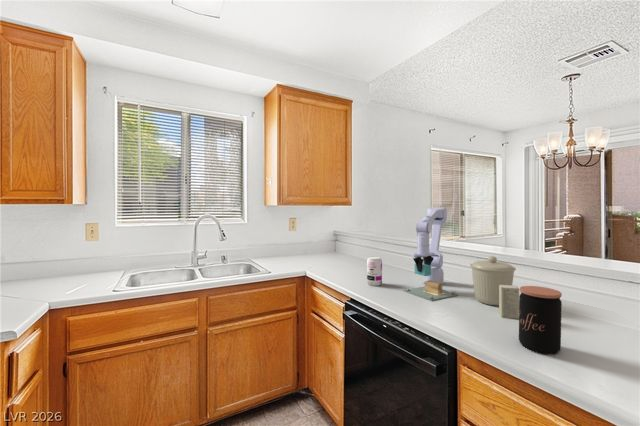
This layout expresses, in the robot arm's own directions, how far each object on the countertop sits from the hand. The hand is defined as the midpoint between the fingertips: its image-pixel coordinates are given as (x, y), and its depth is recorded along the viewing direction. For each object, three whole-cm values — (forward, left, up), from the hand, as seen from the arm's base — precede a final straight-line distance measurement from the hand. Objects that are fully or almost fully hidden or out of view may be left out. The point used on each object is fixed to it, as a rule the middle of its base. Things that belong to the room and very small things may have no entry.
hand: (423, 271), depth 158 cm
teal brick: (0, 0, -2) cm, 2 cm away
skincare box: (-2, +43, -10) cm, 44 cm away
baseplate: (+1, +6, -10) cm, 12 cm away
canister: (-13, +29, -10) cm, 33 cm away
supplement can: (+15, -21, -10) cm, 28 cm away
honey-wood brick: (0, +7, -9) cm, 12 cm away
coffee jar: (+16, +63, -10) cm, 66 cm away
